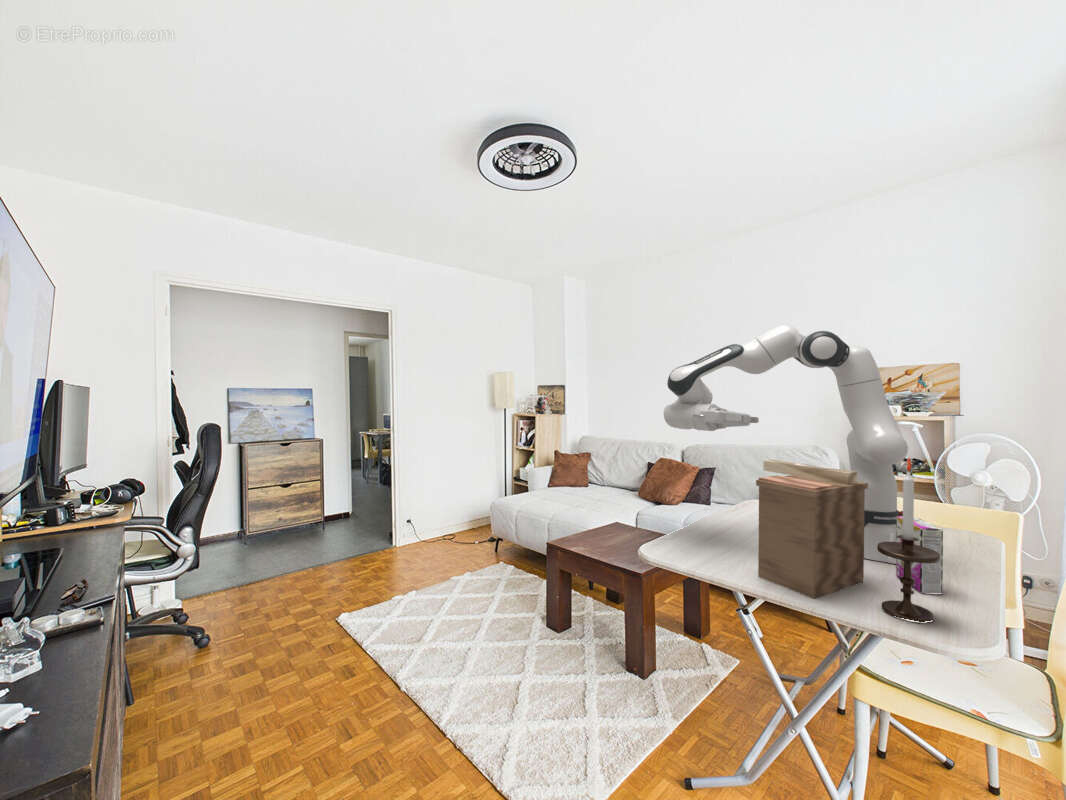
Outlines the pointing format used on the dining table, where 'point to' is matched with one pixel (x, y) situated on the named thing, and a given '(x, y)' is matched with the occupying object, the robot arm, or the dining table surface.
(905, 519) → the candlestick
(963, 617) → the dining table surface
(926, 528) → the candy bar box
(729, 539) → the dining table surface
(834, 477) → the birch block
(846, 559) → the walnut shelf
